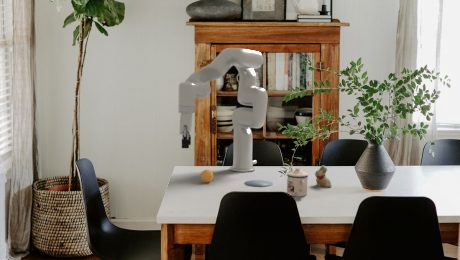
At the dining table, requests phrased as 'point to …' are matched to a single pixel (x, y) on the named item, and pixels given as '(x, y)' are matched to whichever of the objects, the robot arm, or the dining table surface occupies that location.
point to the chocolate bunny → (322, 177)
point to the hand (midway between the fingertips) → (186, 146)
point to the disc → (258, 183)
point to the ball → (206, 176)
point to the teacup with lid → (297, 182)
